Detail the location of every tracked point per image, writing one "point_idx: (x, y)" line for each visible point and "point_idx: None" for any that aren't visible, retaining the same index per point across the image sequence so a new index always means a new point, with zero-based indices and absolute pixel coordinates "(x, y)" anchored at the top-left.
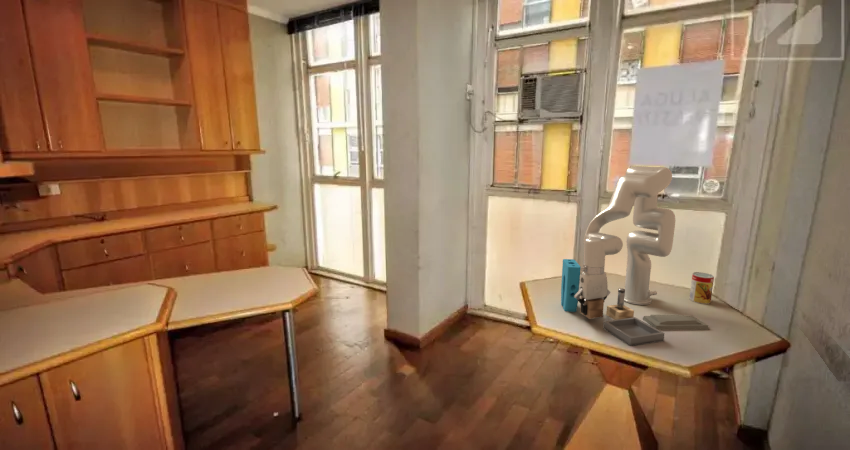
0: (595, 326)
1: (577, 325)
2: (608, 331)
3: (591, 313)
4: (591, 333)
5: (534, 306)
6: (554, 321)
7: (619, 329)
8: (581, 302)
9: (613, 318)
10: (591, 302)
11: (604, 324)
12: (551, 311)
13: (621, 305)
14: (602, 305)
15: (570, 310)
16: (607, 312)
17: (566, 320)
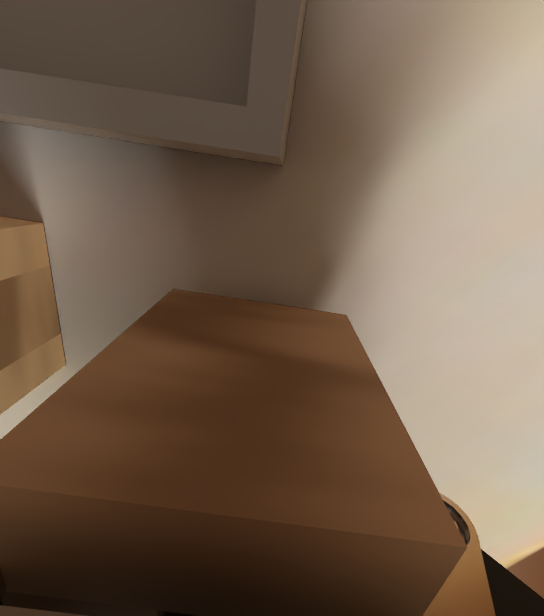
0: (312, 239)
1: (442, 322)
2: (297, 64)
3: (332, 342)
4: (495, 123)
5: None
6: (532, 441)
7: None
8: (518, 593)
9: (47, 286)
10: (416, 521)
11: (282, 143)
12: None
13: None
14: (105, 373)
15: None
16: (42, 368)
17: (433, 418)
